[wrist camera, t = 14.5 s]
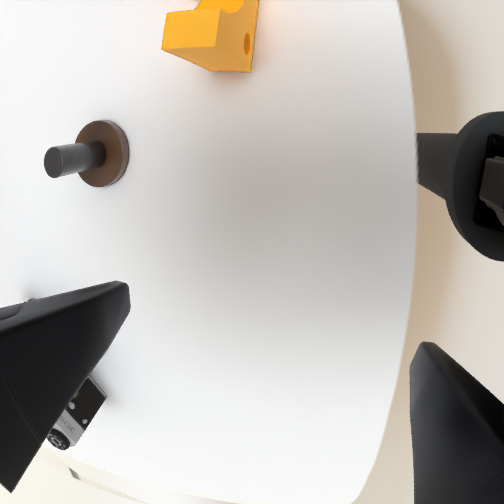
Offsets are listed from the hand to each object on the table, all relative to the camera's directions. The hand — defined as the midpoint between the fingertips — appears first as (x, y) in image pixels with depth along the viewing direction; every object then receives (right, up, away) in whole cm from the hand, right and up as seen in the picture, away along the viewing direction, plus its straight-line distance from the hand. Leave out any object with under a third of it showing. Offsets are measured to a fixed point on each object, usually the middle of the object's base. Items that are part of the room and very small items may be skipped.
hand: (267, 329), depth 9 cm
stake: (-12, +10, +12) cm, 19 cm away
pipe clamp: (-2, +19, +7) cm, 20 cm away
